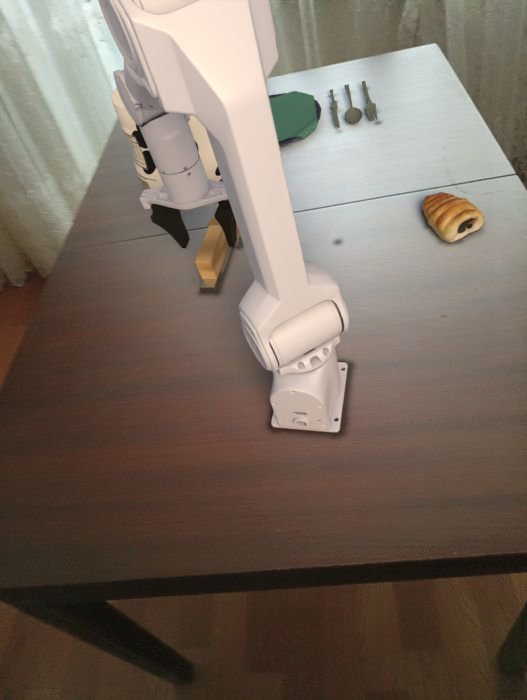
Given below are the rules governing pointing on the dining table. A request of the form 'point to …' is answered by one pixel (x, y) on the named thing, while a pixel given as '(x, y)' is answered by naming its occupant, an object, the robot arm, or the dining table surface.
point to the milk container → (142, 153)
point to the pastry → (451, 216)
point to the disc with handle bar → (212, 250)
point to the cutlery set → (309, 113)
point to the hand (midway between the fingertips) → (209, 243)
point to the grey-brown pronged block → (213, 284)
